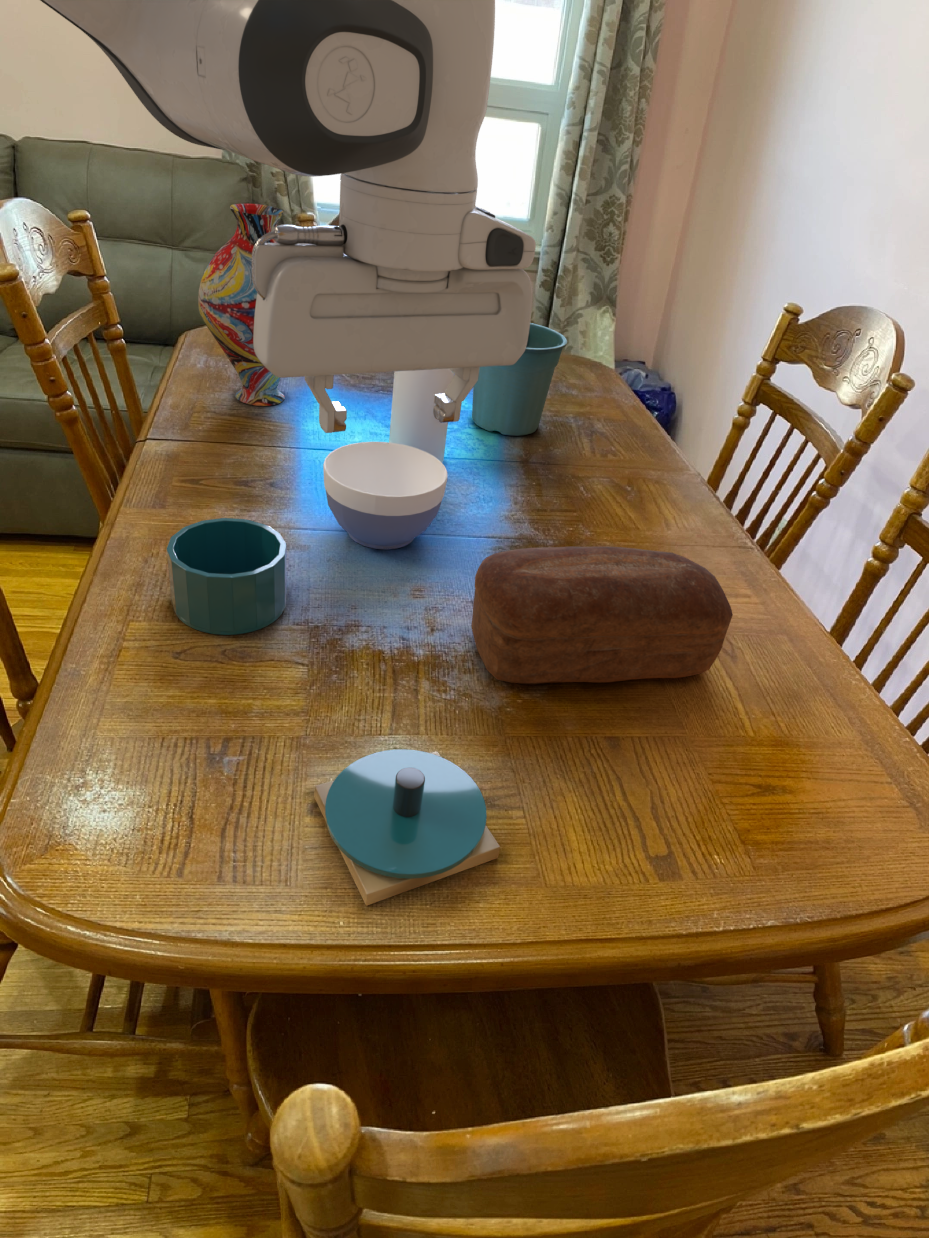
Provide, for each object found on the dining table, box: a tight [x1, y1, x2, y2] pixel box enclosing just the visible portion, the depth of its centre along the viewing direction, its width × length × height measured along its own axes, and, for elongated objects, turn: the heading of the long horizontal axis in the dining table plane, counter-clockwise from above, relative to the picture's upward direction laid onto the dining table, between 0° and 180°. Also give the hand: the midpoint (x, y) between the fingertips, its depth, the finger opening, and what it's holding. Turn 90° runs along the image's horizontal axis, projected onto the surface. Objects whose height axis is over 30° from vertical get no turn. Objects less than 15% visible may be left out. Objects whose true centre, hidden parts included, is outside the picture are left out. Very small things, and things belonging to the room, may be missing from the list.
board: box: [313, 750, 501, 906], centre depth 70 cm, size 12×12×2 cm
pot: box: [166, 517, 288, 636], centre depth 92 cm, size 12×12×8 cm
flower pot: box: [471, 322, 568, 437], centre depth 143 cm, size 16×16×16 cm
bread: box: [470, 545, 734, 685], centre depth 91 cm, size 14×28×12 cm, turn 102°
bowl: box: [322, 441, 448, 550], centre depth 108 cm, size 16×16×10 cm
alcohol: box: [388, 369, 455, 463], centre depth 122 cm, size 9×9×30 cm
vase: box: [197, 203, 286, 407], centre depth 135 cm, size 19×19×30 cm
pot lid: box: [324, 748, 488, 879], centre depth 68 cm, size 14×14×5 cm
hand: (391, 424), depth 63 cm, fingers open, 8 cm apart
